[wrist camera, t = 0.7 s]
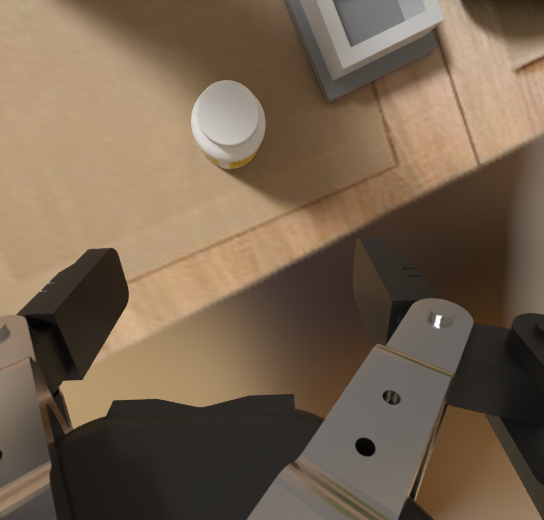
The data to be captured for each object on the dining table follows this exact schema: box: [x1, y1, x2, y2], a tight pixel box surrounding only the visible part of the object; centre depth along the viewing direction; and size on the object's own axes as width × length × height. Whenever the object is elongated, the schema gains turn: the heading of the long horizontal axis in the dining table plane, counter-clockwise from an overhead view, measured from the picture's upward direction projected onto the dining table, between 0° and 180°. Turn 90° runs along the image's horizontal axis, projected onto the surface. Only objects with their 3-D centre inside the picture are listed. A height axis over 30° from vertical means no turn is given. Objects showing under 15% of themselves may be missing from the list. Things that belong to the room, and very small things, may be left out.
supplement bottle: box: [191, 80, 266, 169], centre depth 27 cm, size 5×5×10 cm
